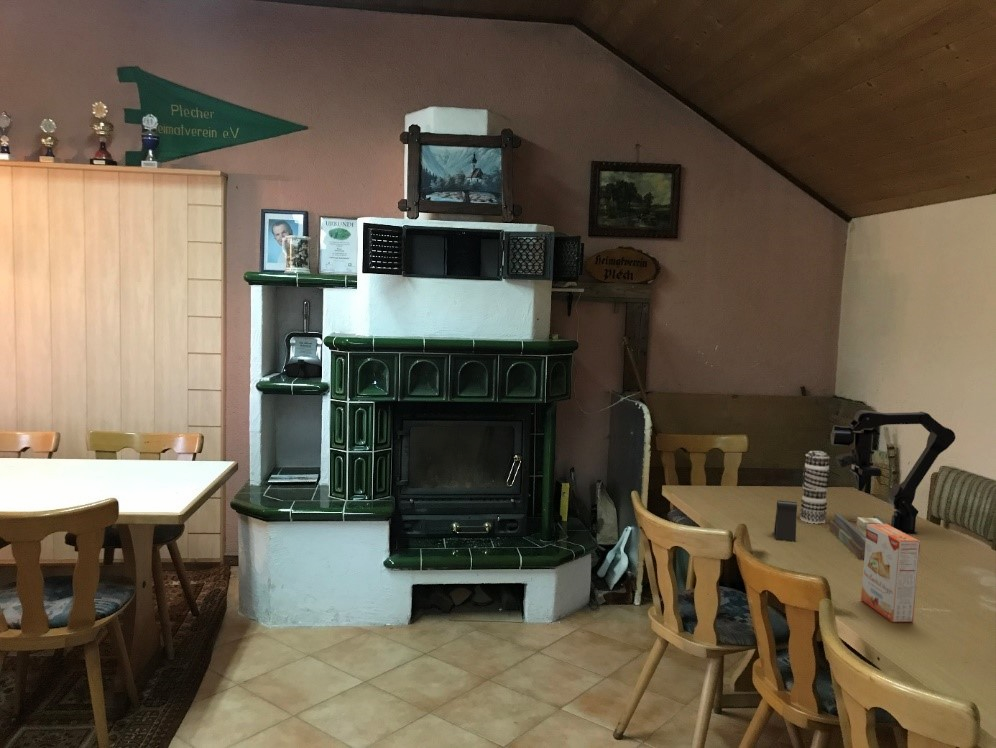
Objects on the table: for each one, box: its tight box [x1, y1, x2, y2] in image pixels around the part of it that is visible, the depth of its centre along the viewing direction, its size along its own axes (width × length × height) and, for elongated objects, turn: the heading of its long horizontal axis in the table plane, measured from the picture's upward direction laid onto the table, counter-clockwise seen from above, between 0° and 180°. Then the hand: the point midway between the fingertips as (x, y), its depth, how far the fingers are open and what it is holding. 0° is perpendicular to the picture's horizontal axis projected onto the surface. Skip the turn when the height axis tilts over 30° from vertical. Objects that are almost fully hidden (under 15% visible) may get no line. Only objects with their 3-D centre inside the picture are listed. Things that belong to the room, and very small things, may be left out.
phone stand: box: [773, 499, 798, 543], centre depth 253 cm, size 9×6×12 cm, turn 164°
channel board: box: [829, 513, 890, 560], centre depth 247 cm, size 16×31×6 cm, turn 173°
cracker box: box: [860, 523, 921, 623], centre depth 192 cm, size 14×6×21 cm, turn 5°
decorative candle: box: [799, 450, 831, 525], centre depth 273 cm, size 9×9×25 cm
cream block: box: [856, 516, 883, 537], centre depth 248 cm, size 6×6×5 cm
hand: (859, 490), depth 267 cm, fingers closed
